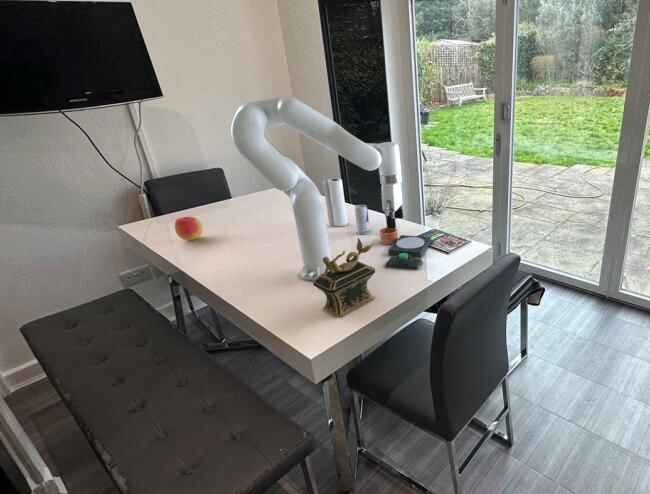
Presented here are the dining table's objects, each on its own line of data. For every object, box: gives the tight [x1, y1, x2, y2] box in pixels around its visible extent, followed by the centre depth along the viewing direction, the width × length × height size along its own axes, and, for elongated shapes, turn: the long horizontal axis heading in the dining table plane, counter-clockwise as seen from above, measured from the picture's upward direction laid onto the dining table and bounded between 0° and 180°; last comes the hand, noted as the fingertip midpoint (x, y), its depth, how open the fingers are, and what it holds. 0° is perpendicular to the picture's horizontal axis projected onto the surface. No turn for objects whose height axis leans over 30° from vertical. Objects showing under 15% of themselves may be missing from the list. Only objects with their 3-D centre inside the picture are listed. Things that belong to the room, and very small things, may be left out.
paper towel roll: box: [322, 177, 349, 227], centre depth 184 cm, size 7×6×21 cm
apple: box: [174, 216, 203, 241], centre depth 173 cm, size 10×10×10 cm
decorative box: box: [312, 237, 376, 317], centre depth 124 cm, size 20×10×20 cm, turn 143°
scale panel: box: [385, 254, 423, 271], centre depth 150 cm, size 6×12×3 cm, turn 79°
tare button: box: [399, 253, 408, 260], centre depth 149 cm, size 3×3×2 cm
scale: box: [387, 234, 432, 259], centre depth 163 cm, size 15×13×3 cm
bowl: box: [379, 226, 399, 246], centre depth 169 cm, size 7×7×5 cm
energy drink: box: [354, 204, 371, 235], centre depth 177 cm, size 5×5×12 cm
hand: (395, 223), depth 151 cm, fingers open, 9 cm apart
